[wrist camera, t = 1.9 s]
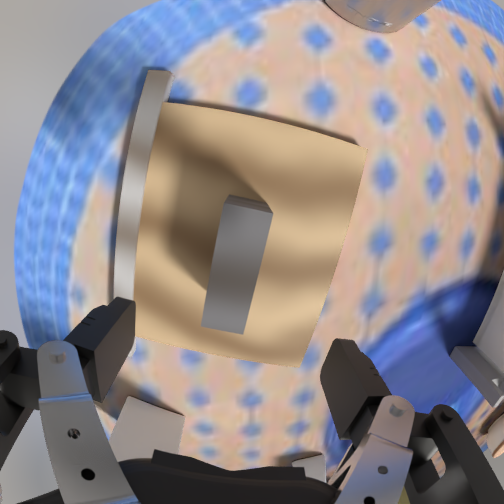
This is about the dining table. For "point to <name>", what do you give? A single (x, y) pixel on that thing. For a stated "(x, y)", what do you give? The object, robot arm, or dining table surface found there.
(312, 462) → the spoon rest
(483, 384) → the white open box
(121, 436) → the milk carton
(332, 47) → the dining table surface
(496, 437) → the lidded jar
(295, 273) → the door
